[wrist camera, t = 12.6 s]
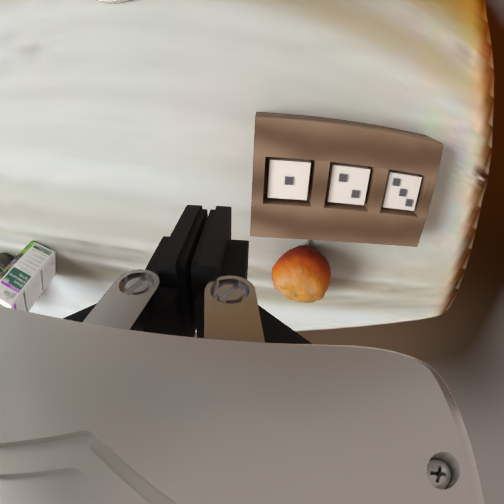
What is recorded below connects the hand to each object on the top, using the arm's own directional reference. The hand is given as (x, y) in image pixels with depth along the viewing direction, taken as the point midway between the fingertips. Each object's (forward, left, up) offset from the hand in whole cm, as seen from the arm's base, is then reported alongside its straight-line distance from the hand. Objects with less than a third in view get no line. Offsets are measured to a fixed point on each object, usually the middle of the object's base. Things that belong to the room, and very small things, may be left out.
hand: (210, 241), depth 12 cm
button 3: (+5, +19, -25) cm, 32 cm away
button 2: (+5, +12, -25) cm, 28 cm away
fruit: (+18, +8, -27) cm, 34 cm away
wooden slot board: (+5, +12, -27) cm, 30 cm away
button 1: (+5, +5, -25) cm, 26 cm away
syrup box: (+21, -36, -27) cm, 50 cm away
